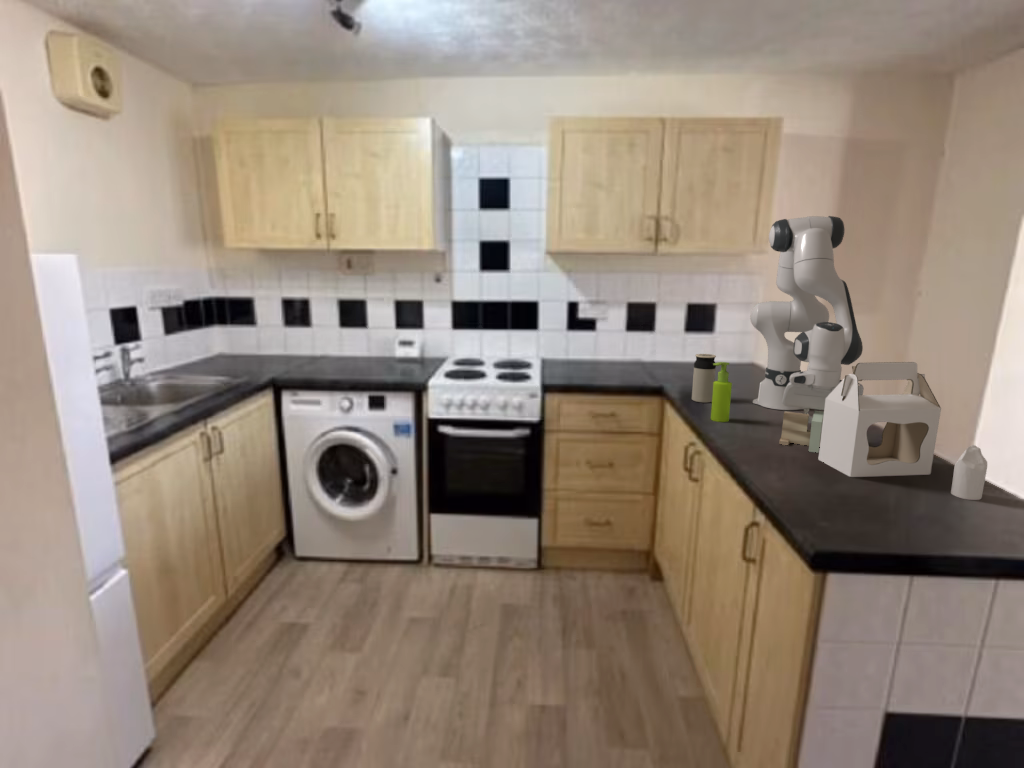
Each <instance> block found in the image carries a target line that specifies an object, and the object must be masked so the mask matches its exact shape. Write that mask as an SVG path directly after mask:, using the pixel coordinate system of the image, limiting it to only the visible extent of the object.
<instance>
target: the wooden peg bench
mask: <svg viewBox="0 0 1024 768" xmlns="http://www.w3.org/2000/svg"><path fill="white" fill-rule="evenodd" d="M809 415H810V413H809V414H805V413H804V412H803V413H802V412H792V411H787V410H784V412H783V417H782V426H781V436H780V438H779V443H778V445H779V444H782V445H781V446H785V445H788V446H789V444H790V443H794V444H793V445H797V444H800V445H799V446H804V445H807V446H806V447H809V442H810V433H811V429H808V425H809V423H808V418H809ZM821 433H822V432H821ZM820 441H821V437H820ZM819 447H820V446H819Z"/></svg>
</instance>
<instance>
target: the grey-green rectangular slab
mask: <svg viewBox="0 0 1024 768" xmlns="http://www.w3.org/2000/svg"><path fill="white" fill-rule="evenodd" d="M823 416H824V411H823V410H814V412H813V415H812V417H813V418H812V423H810V424H811V425H810V426H811V427H810V430H811V433H810V442H809V446H808V451H809V452H810V453H815V452H816V453H817V454H819V449H820V448H819V446H820V437H821V432H822V424H823ZM816 453H815V454H816Z"/></svg>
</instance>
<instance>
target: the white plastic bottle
mask: <svg viewBox="0 0 1024 768" xmlns="http://www.w3.org/2000/svg"><path fill="white" fill-rule="evenodd" d="M987 469H988V461H987V459H986V458H985V456H984V455H983V454H982V449H981V448H980V447H979V446H976V445H975V444H972V445H969V446H967V448H966V449H965V450H964V451H963V452H962V454H961V455H960V456H959V457H958V460H957V461H956V462H955V464H954V469H953V474H952V475H953V477H952V484H951V488H950V489H951V490H950V494H951V495H952V496H954V497H956V498H960V499H962V500H967V501H968V500H970V501H980V500H981V499H982V498H983V493H984V492H983V491H984V487H985V480H986V477H987V476H986V475H987V472H988V471H987Z"/></svg>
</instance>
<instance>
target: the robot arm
mask: <svg viewBox="0 0 1024 768" xmlns="http://www.w3.org/2000/svg"><path fill="white" fill-rule="evenodd" d="M845 232H846V228H845V224H844V221H843V219H841V218H840V217H839V216H838V217H837V216H833V215H832V216H831V215H828V216H817V215H816V216H814V215H812V216H805V217H804V216H803V217H796V218H790V219H787V218H783V219H779V220H776V221H775V222H774V223H773V224H772V225H771V228H770V230H769V233H768V242H769V246H770V248H771V249H772V250H773V251H775V252H778V253H779V252H780V254H779V259H778V265H777V273H776V282H775V284H776V287H777V288H778V290H780V291H781V292H782V293H784V294H787V295H789V296H790V297H792V301H783V300H782V301H776V300H772V301H771V300H770V301H762V302H758V303H756V304H755V305H754V306H753V308H751V311H750V316H749V317H750V318H749V319H750V323H751V324H752V326H753V327H754V329H756V330H757V331H758V332H759V333H760V334H761V335H762V336H763V338H764V340H765V342H766V344H767V345H766V346H767V366H766V368H765V371H764V377H765V378H764V379H763V380H761V382H760V383H759V388H758V394H757V395H758V397H757V398H755V399H752V403H753V404H755V405H759V406H761V407H764V408H768V409H772V410H781V411H798V410H803V414H809V418H808V424H812V418H813V415H812V416H811V415H810V413H809V412H810V409H811V410H817V411H824V408H825V399H826V397H827V396H828V395H829V394H830V393H831V392H832V391H833V390H834V389H835V388H836V387H837V386H838V384H839V383H840V382H841V381H842V380H843V379H841V378H842V371H843V369H842V368H843V367H842V365H846V366H849V365H851V364H853V363H855V362H856V361H857V360H858V359H859V358H860V357H861V356H862V353H863V350H864V349H863V341H862V338H861V335H860V333H859V330H858V328H857V324H856V323H857V322H856V318H855V313H854V309H853V303H852V299H851V295H850V290H849V287H848V285H847V283H846V281H844V280H843V279H841V278H840V276H839V275H838V273H837V271H836V269H835V260H834V257H835V256H834V249H836V248H838V247H839V246H840V245H841V244H842V242H843V241H844V238H845ZM817 297H819V298H820V299H823V300H825V301H826V302H828V303H829V304H830V305H831V307H832V308H833V313H834V318H835V321H836V322H835V323H834V322H831V321H829V320H830V312H829V309H828V308H827V306H826V305H825V304H823V303H822V302H820V300H819V299H818V298H817ZM786 333H799V334H798V335H797V336H796V337H795V338H794V342H793V341H791V340H789V339H787V338H786V335H785V334H786ZM802 362H804V363H808V364H807V368H806V370H803V371H802V370H801V365H802V364H801V363H802ZM858 388H859V395H864V386H863V384H862V383H860V382H858Z"/></svg>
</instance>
